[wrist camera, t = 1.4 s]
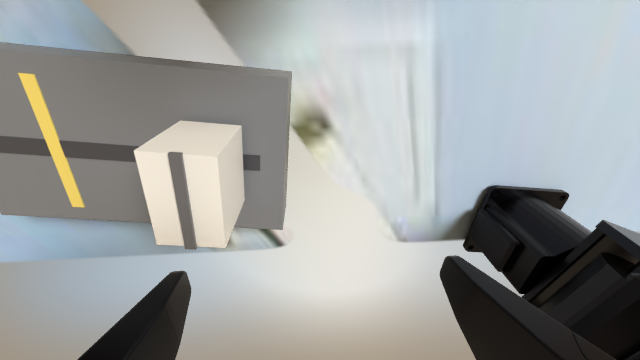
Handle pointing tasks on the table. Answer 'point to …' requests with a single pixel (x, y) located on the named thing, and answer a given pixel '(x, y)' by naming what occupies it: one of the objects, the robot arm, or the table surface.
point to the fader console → (128, 129)
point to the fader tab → (193, 183)
